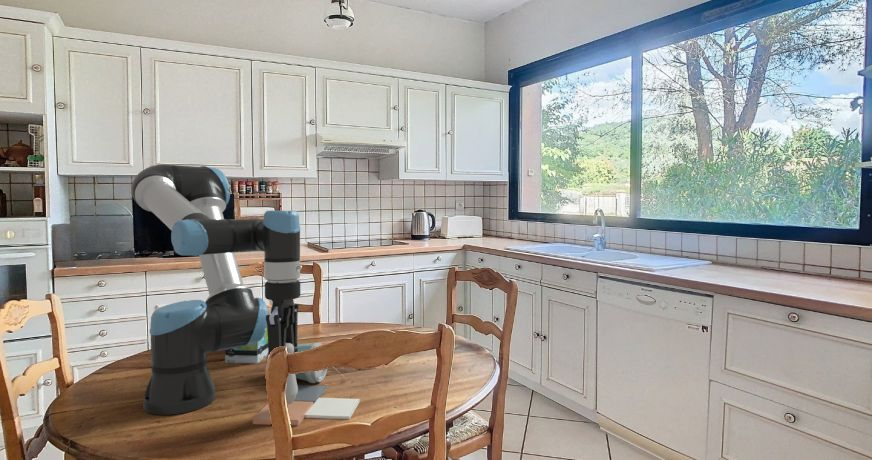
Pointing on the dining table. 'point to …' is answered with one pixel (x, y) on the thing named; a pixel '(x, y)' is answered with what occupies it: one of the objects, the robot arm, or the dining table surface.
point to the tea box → (249, 351)
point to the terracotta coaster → (295, 412)
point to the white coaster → (332, 408)
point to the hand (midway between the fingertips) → (284, 384)
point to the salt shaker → (291, 381)
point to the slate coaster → (309, 393)
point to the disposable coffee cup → (313, 375)
